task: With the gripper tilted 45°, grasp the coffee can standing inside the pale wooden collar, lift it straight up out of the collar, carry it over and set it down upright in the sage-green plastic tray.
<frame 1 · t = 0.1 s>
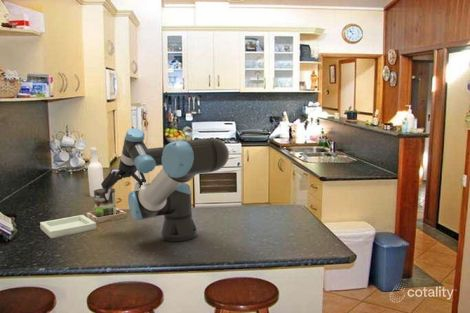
hand: (121, 195, 209), 15 cm above the counter, tool tilted 35°, fingers open, 13 cm apart
alcohol: (97, 196, 284), on the counter
collar: (106, 217, 231), on the counter
coffee can: (106, 217, 231), resting in collar
tray: (68, 229, 212), on the counter
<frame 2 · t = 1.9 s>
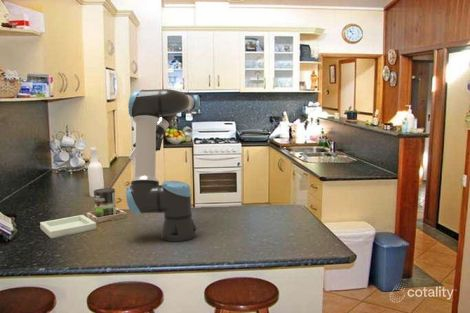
hand: (138, 159, 236), 28 cm above the counter, tool tilted 45°, fingers open, 13 cm apart
nothing on the counter moved.
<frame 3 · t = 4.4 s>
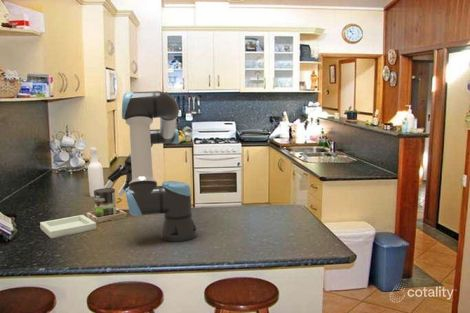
hand: (111, 193, 233), 11 cm above the counter, tool tilted 45°, fingers open, 13 cm apart
nothing on the counter moved.
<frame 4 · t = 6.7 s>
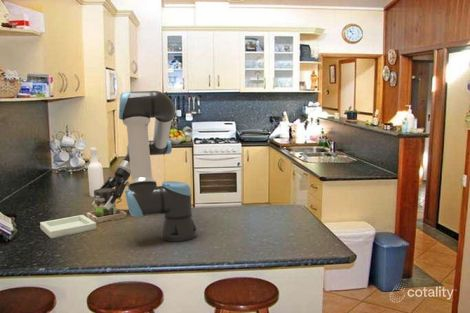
hand: (100, 207, 228), 6 cm above the counter, tool tilted 45°, fingers closed on coffee can, 10 cm apart
coffee can: (106, 217, 231), resting in collar, touching gripper
everything else where it was.
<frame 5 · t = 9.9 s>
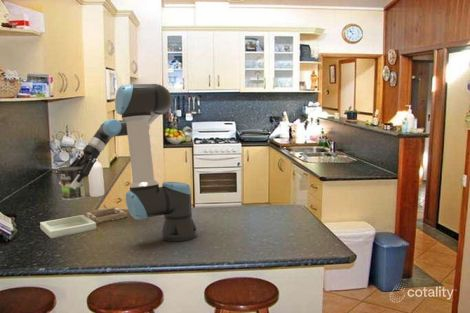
hand: (66, 186, 212), 20 cm above the counter, tool tilted 45°, fingers closed on coffee can, 10 cm apart
coffee can: (74, 198, 216), point 13 cm above the counter, touching gripper
everything else where it was.
when the fingers open (8 cm above the counter, at t = 13.1 s): coffee can drops 1 cm, resting on tray.
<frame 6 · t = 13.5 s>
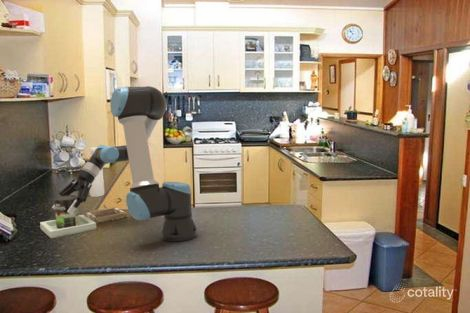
hand: (61, 211, 209), 9 cm above the counter, tool tilted 45°, fingers open, 13 cm apart
coffee can: (68, 227, 212), point 1 cm above the counter, touching tray
everything else where it was.
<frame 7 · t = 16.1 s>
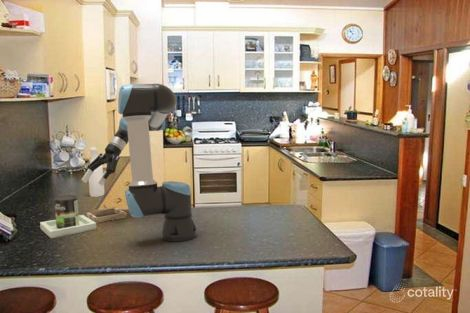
hand: (91, 182, 219), 20 cm above the counter, tool tilted 45°, fingers open, 13 cm apart
nothing on the counter moved.
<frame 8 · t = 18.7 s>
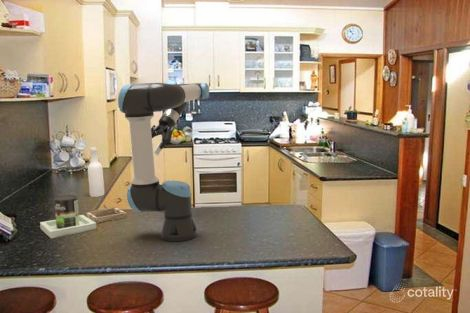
hand: (146, 152, 220), 33 cm above the counter, tool tilted 45°, fingers open, 13 cm apart
nothing on the counter moved.
at the end: coffee can inside the target area on the tray (0.2 cm from its centre), point 0.6 cm above the tray's base; coffee can tilted 0°; the gripper is holding nothing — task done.
